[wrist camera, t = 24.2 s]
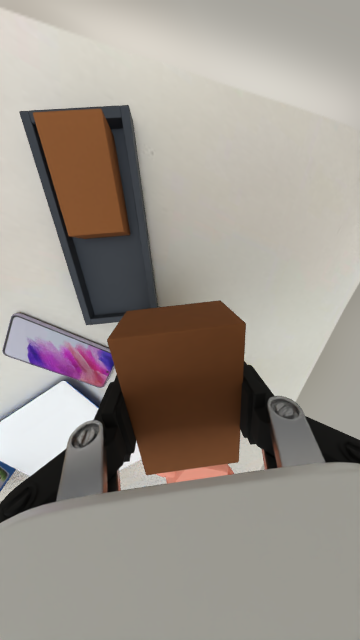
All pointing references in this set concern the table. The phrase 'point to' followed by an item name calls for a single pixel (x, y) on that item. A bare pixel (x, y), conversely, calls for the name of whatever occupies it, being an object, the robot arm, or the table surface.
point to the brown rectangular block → (84, 172)
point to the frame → (107, 252)
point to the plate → (46, 428)
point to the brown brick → (182, 383)
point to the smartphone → (57, 351)
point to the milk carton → (5, 473)
